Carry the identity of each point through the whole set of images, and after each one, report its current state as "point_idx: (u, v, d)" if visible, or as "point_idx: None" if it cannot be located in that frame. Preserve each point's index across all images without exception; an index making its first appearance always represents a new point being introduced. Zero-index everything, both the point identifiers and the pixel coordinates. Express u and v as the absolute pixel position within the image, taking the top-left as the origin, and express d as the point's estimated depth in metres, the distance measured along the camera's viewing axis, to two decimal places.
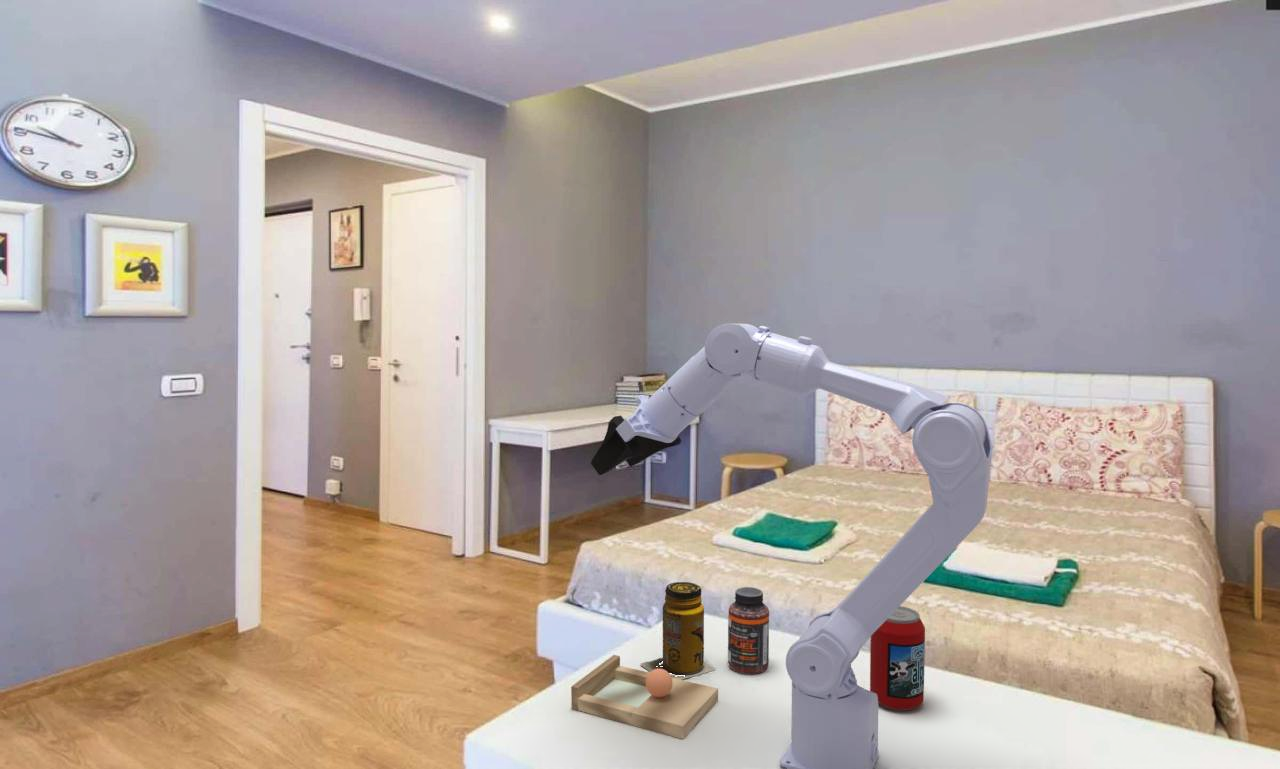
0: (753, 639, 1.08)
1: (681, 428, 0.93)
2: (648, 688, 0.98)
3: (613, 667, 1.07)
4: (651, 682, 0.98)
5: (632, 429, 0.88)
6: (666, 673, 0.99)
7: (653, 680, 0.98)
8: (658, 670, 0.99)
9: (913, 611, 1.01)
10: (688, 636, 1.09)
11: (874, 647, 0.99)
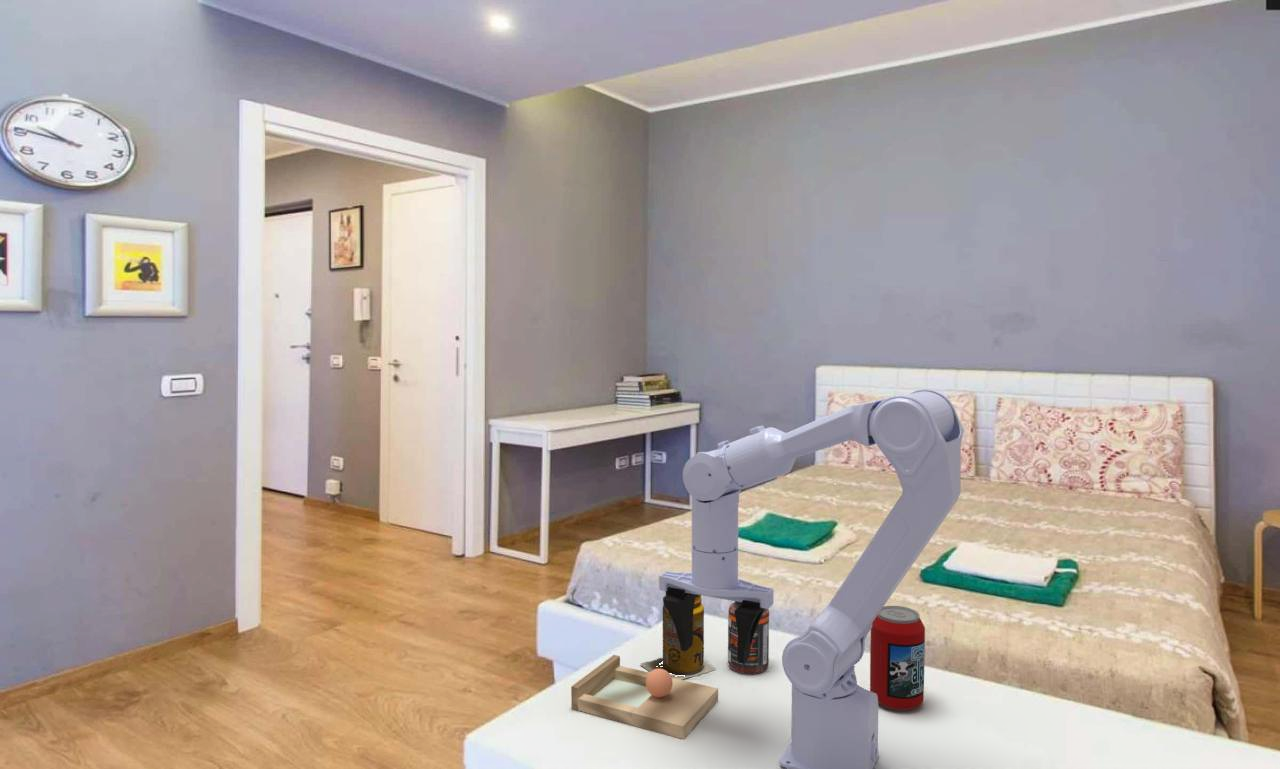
0: (753, 639, 1.08)
1: (701, 571, 0.92)
2: (648, 688, 0.98)
3: (613, 667, 1.07)
4: (651, 682, 0.98)
5: (660, 575, 0.98)
6: (666, 673, 0.99)
7: (653, 680, 0.98)
8: (658, 670, 0.99)
9: (913, 611, 1.01)
10: None
11: (874, 647, 0.99)
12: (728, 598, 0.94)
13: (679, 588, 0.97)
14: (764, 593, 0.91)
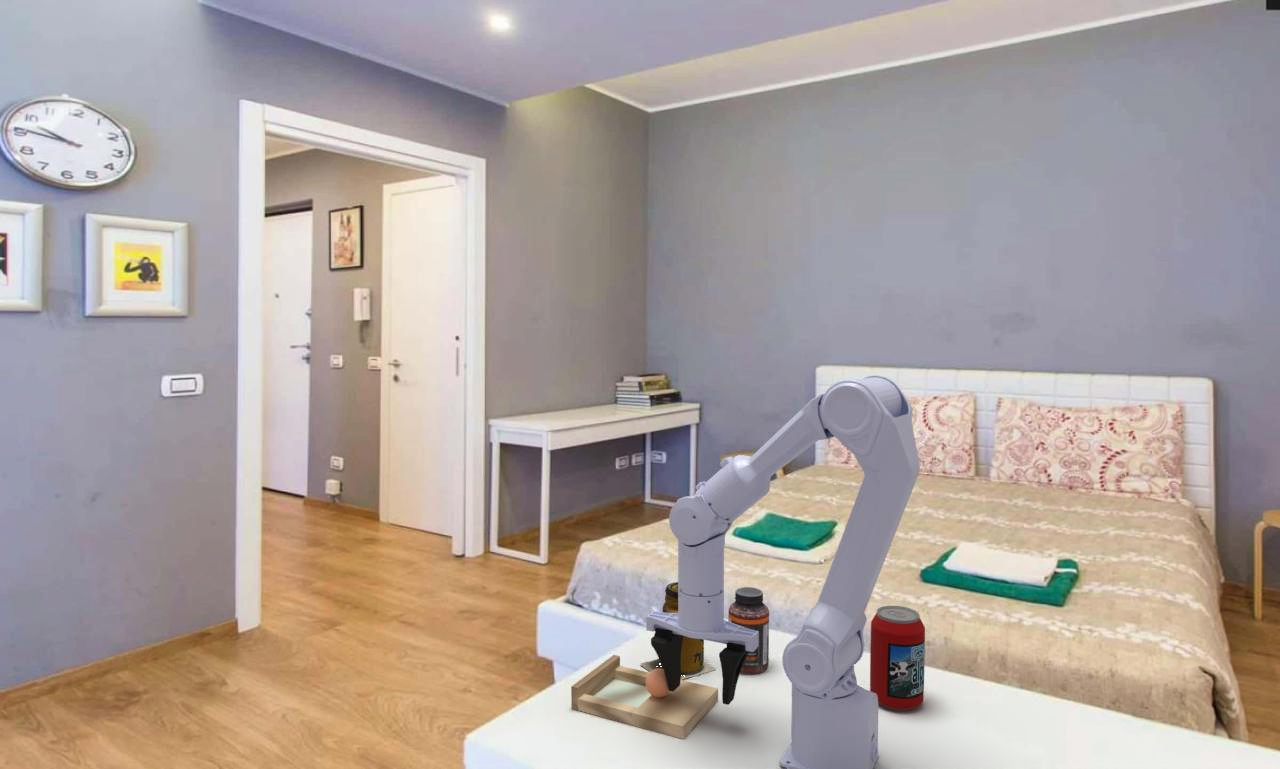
0: None
1: (687, 614, 0.94)
2: (648, 688, 0.98)
3: (613, 667, 1.07)
4: (651, 682, 0.98)
5: None
6: None
7: (653, 680, 0.98)
8: (658, 670, 0.99)
9: (913, 611, 1.01)
10: None
11: (874, 647, 0.99)
12: (714, 640, 0.95)
13: (666, 629, 0.98)
14: (749, 636, 0.92)
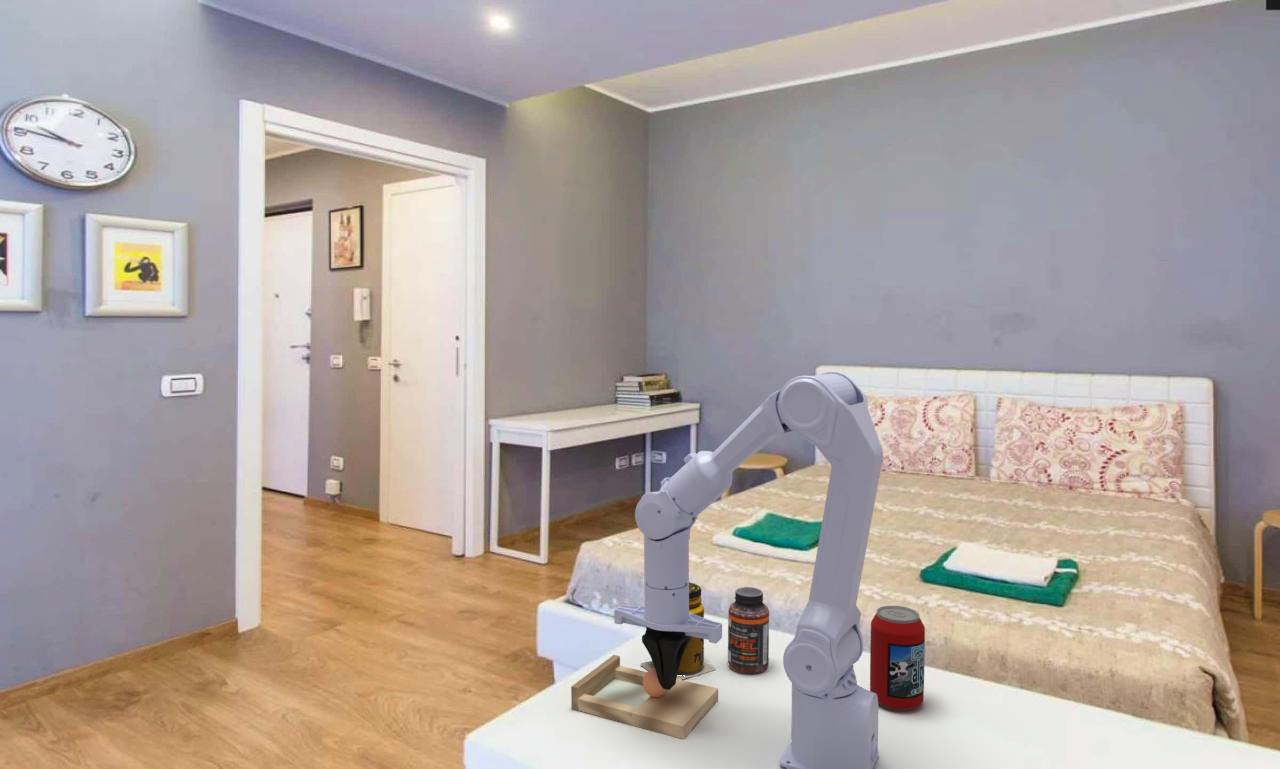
0: (753, 639, 1.08)
1: (652, 607, 0.96)
2: (646, 689, 0.99)
3: (613, 667, 1.07)
4: (647, 682, 0.98)
5: (616, 609, 1.01)
6: None
7: (649, 680, 0.98)
8: (652, 669, 0.99)
9: (913, 611, 1.01)
10: None
11: (874, 647, 0.99)
12: None
13: (633, 621, 1.00)
14: (712, 628, 0.94)
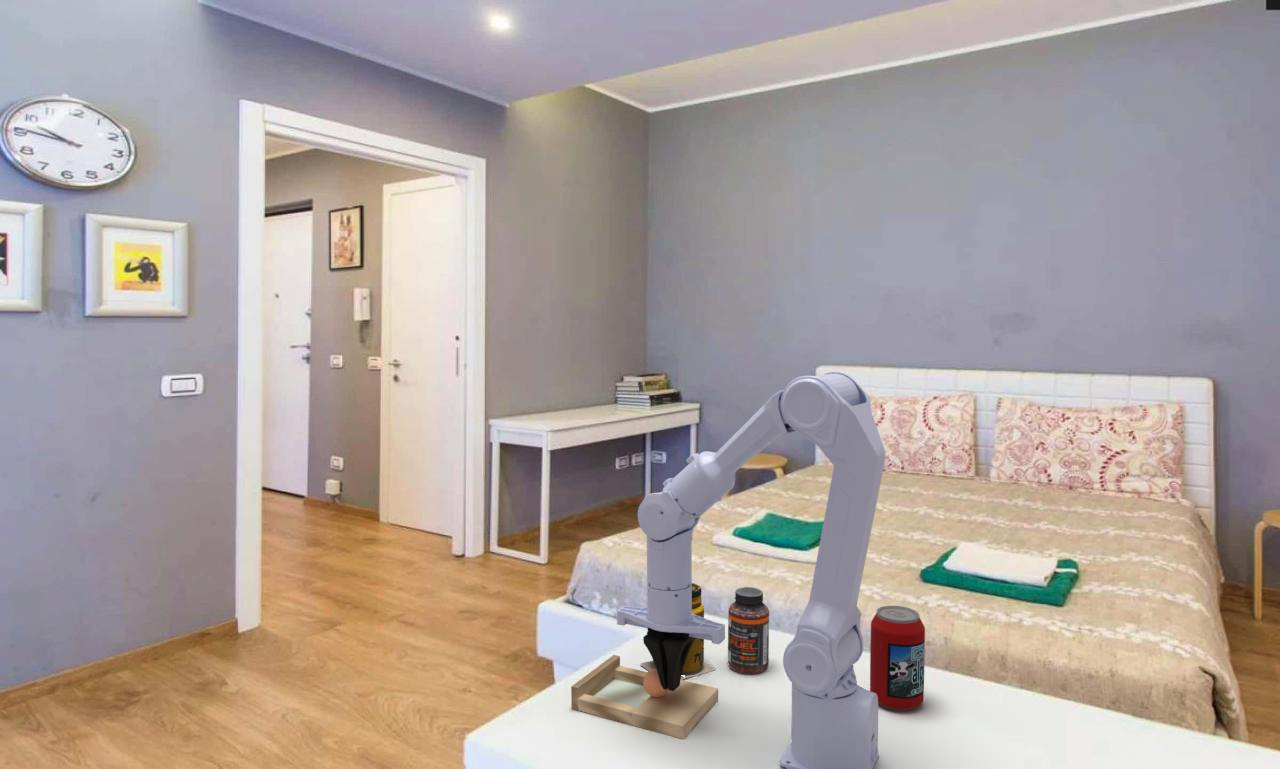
0: (753, 639, 1.08)
1: (655, 608, 0.96)
2: (646, 689, 0.98)
3: (613, 667, 1.07)
4: (648, 682, 0.98)
5: None
6: None
7: (650, 680, 0.98)
8: (653, 670, 0.99)
9: (913, 611, 1.01)
10: None
11: (874, 647, 0.99)
12: None
13: (636, 623, 1.00)
14: (715, 629, 0.94)
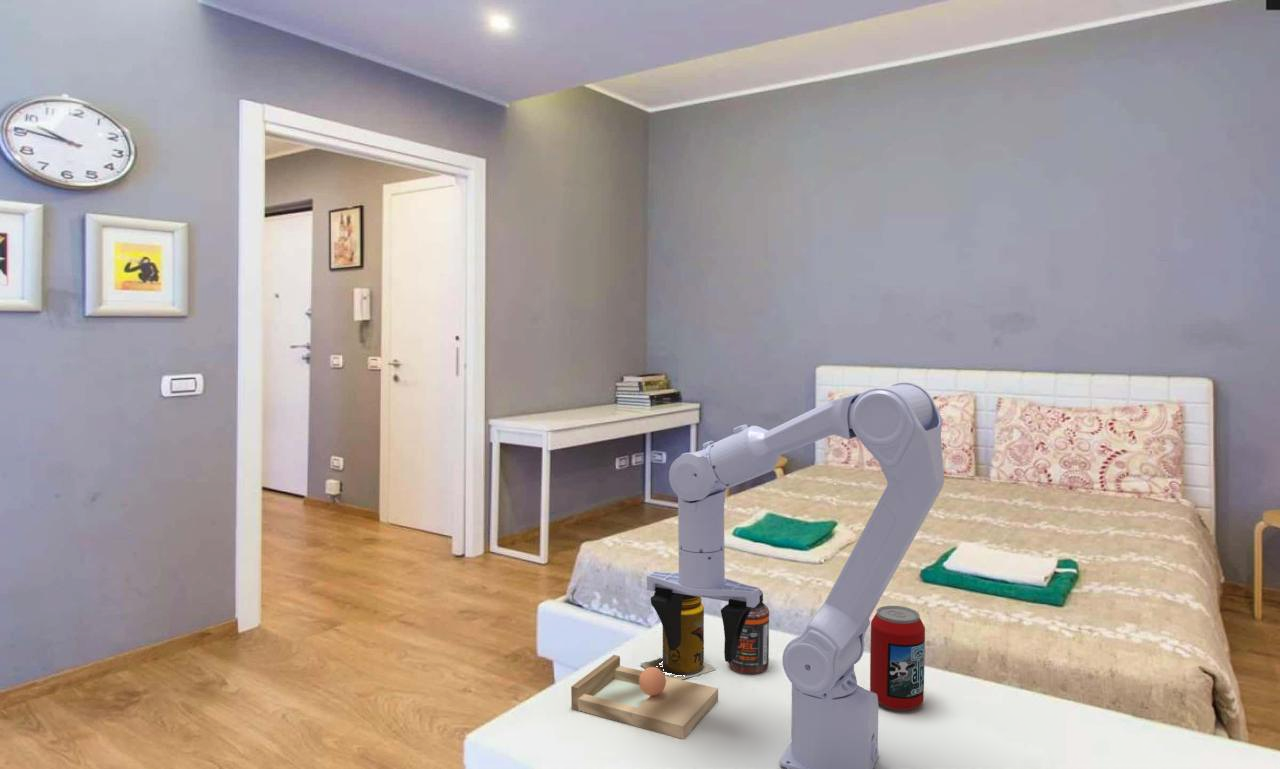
0: (753, 639, 1.08)
1: (688, 571, 0.93)
2: (643, 690, 0.99)
3: (613, 667, 1.07)
4: (642, 682, 0.99)
5: None
6: (653, 668, 1.00)
7: (643, 679, 0.99)
8: (645, 669, 1.00)
9: (913, 611, 1.01)
10: (688, 636, 1.09)
11: (874, 647, 0.99)
12: (715, 597, 0.94)
13: (667, 588, 0.97)
14: (750, 592, 0.91)
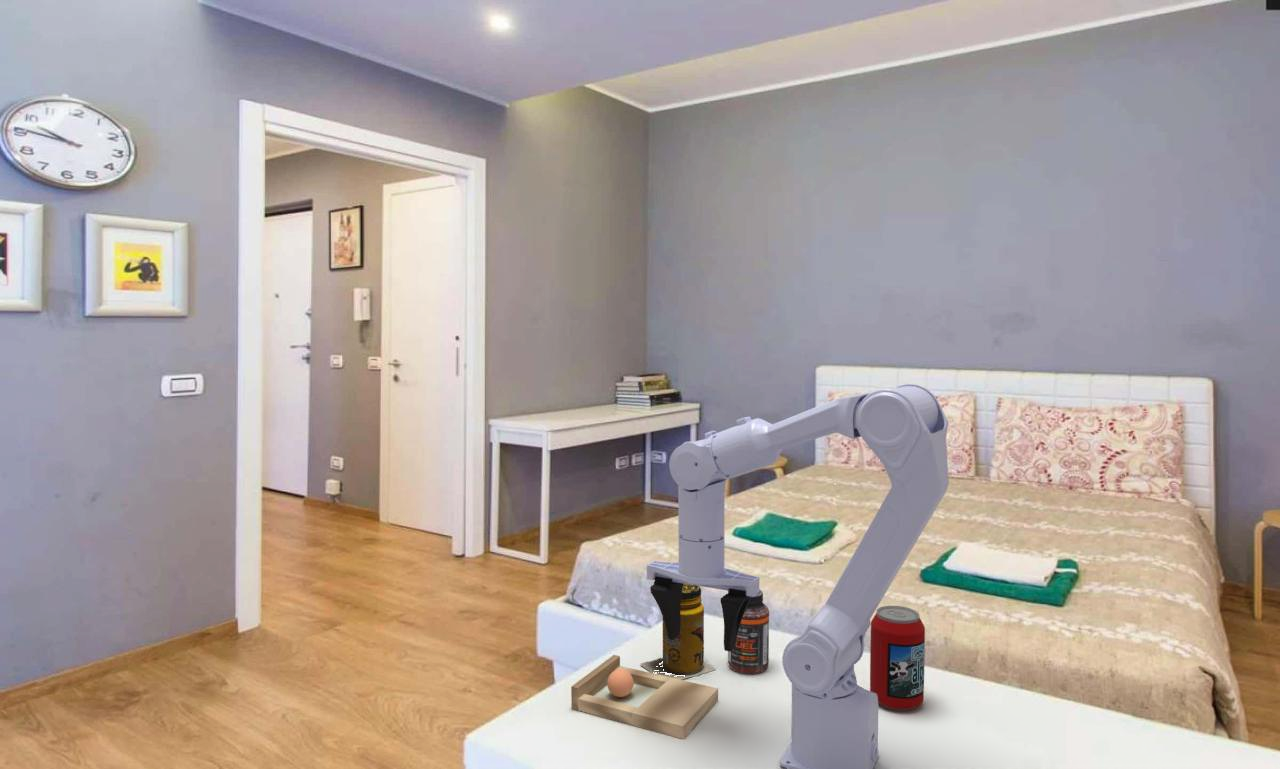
0: (753, 639, 1.08)
1: (688, 560, 0.93)
2: (618, 684, 1.00)
3: (613, 667, 1.07)
4: (618, 692, 1.01)
5: None
6: None
7: (617, 694, 1.01)
8: (624, 696, 1.02)
9: (913, 611, 1.01)
10: (688, 636, 1.09)
11: (874, 647, 0.99)
12: (715, 587, 0.94)
13: (666, 577, 0.97)
14: (749, 581, 0.91)
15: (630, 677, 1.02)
